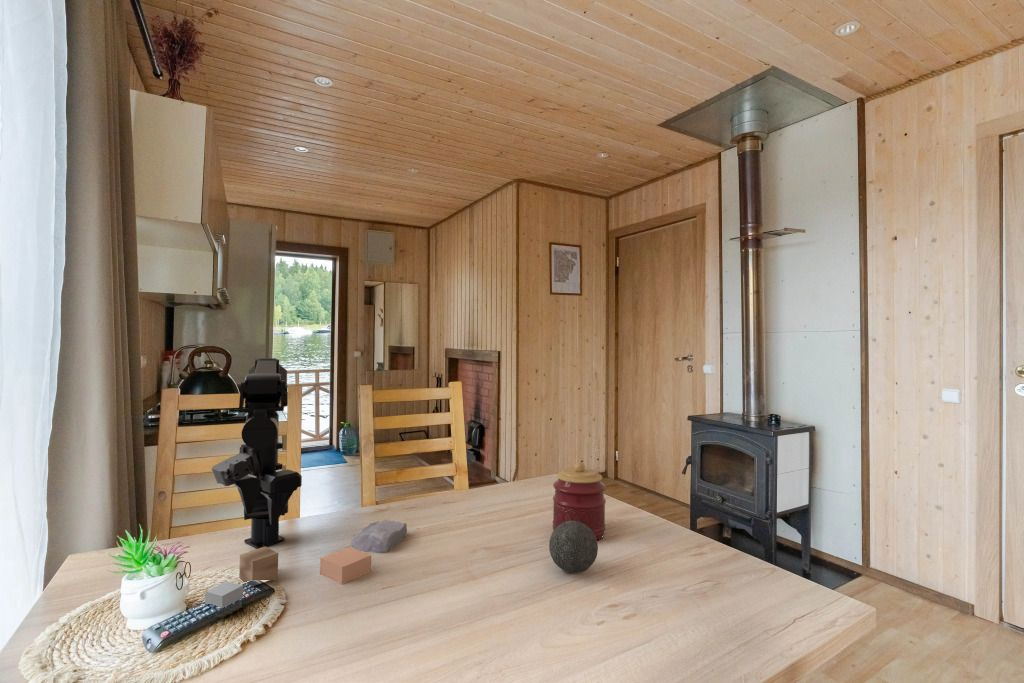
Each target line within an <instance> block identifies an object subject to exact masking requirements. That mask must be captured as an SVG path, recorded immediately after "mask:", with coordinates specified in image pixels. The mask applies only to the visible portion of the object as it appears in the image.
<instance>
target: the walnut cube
mask: <svg viewBox="0 0 1024 683" xmlns="http://www.w3.org/2000/svg"><path fill="white" fill-rule="evenodd" d="M239 578H240V579H241V580H242V581H243V582H247V581H251V580H271V581H273V580H276V579H278V578H279V552H278V551H276V550H274V549H271V548H269V547H268V546H265V547H262V548H256V549H253V550H250V551H248V552H243V553H241V554H239ZM242 581H241V582H242ZM243 582H242V583H243Z"/></svg>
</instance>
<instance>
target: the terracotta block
mask: <svg viewBox="0 0 1024 683" xmlns="http://www.w3.org/2000/svg"><path fill="white" fill-rule="evenodd" d="M319 561H320V562H319V575H321V576H323V577H325V578H327V579H329V580H331V581H334V582H336V583H339V584H341V585H343V584H345V583H348V582H349V581H352V580H354V579H357V578H359V577H361V576H363V575H366V574H368V573H370V572H372V554H370V553H366V552H365V551H359V550H357V549H354V548H353V547H351V546H349V547H345V548H343V549H340V550H338V551H336V552H333V553H330V554H328V555H324V556H323V557H321V558H320V560H319Z"/></svg>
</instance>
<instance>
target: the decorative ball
mask: <svg viewBox="0 0 1024 683" xmlns="http://www.w3.org/2000/svg"><path fill="white" fill-rule="evenodd" d="M548 542H549V544H548V546H549V548H548V549H549V554H550V557H551V559H552V561H553V563H554V564H555V565H556V566H557V567H558V568H560V569H561V570H563V571H564V572H566V573H570V574H578V573H582V572H584V571H587V570H588V569H589V568H590V567H592V565H593V564H594V562H595V561H596V559H597V556H598V551H599V546H598V545H599V544H598V540H597V539H596V536H595V534H594V533H593V531H592V530H591V529H590V528H589V527H588V526H587V525H585V524H583V523H581V522H578V521H566V522H564V523H562V524H560V525H559V526H557V527H556V528H555V530H553V531H552V532H551V535H550V537H549V541H548Z"/></svg>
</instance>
